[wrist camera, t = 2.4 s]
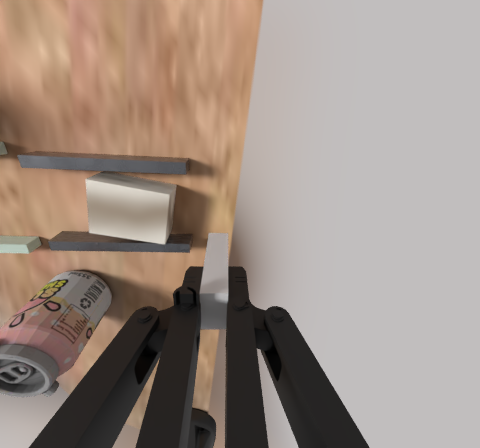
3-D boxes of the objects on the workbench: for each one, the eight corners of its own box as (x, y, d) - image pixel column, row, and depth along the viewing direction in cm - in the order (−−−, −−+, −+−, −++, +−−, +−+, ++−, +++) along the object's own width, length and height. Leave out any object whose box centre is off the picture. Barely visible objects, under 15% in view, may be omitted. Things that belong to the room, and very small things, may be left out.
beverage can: (79, 322, 35) (14, 414, 24) (33, 285, 31) (-68, 374, 21) (127, 297, 33) (79, 385, 22) (83, 256, 30) (3, 336, 19)
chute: (192, 242, 30) (189, 252, 28) (64, 239, 29) (51, 250, 26) (189, 158, 25) (185, 162, 23) (36, 151, 24) (17, 155, 22)
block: (172, 228, 29) (164, 244, 26) (106, 217, 28) (89, 232, 24) (177, 184, 27) (169, 194, 23) (105, 170, 26) (85, 179, 22)
